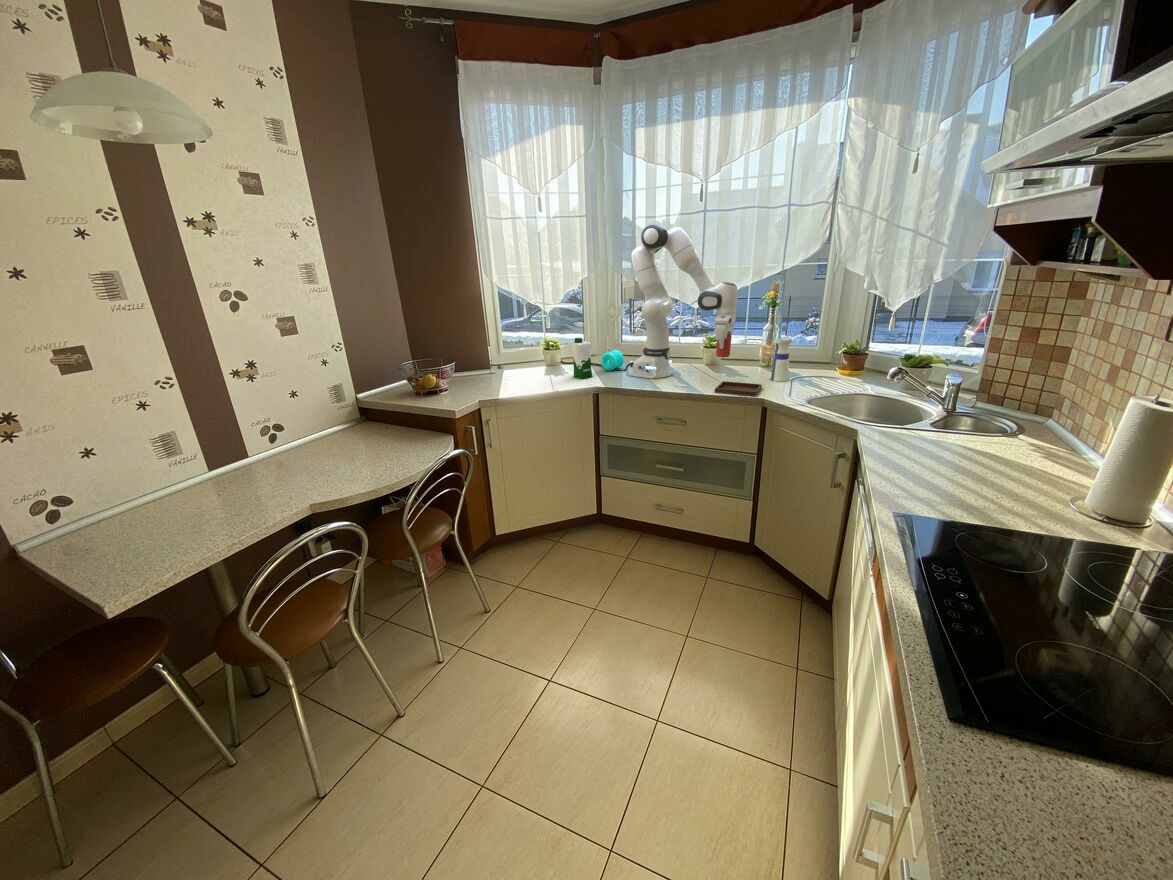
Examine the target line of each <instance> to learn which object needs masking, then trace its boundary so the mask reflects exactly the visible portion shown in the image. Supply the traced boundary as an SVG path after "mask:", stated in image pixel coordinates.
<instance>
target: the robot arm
mask: <svg viewBox="0 0 1173 880" xmlns="http://www.w3.org/2000/svg"><path fill="white" fill-rule="evenodd" d="M640 242H641V245H639V246H637V247H636V248H635V249H633V250H632V251H631V262H632V267H633V271H634V274H635V278H636V281H637V284H638V287H639V290H640V291H641V292H642V294H643V296H644V297H645V299H646V302H645V303H644V304H643V306H642V308H641V315H642V317H643V319H644V324H645V330H646V347H645V348H643V349H642V353H643V354H642V355H640V357H638V358H637V359H636V360H634V361H631V362H630V363H627V365H626V366H625V368H624V369H620V368H615V369H613V370H612V371H615V372H625V371H627V370H628V368H629V367H630V368H632V369H631V370H629V371H628V373H627V376H630V377H636V378H643V379H651V380H652V379H658V378H659V379H662V378H668V377H670V376H672V371H671V368H670V367H671V366H670V364H671V363H672V360H670V355H671V354H670V353H671V352H670V332H669V331H670V330H669V329H668V323H667V317H669V316H670V315H671V313H672V311H673V309H674V303H673V301H672V299H671V298H670V296H669V293H668V291H667V289H666V287H665V285H664V282H663V280H662V278H661V274H660V271H659V267H658V265H657V261H656V257H655V254H657V253H658V252H659V251H660V250H661V249H663V248H664V249H666V250H667V252H668V253H669V255H670V257H671V258H672V261H673V262H674V264H675V265H676V266H677V268H679V270H680V271H683V272H684V273H686V274H688V276H690V277H691V279H693V282H694V283H695V285H696V287H697V288H698V290H699V292H700V293H699V295H698V296H697V305H698V307H699V308H700V309H701V310H702V311H706V312H710V311H712V310H713V311H714V310H716V317H715V319H714V324H715V326H714V327H715V330H714V332H715V333H714V334H715V335H714V338H715V340H716V341H717V340H719V344H720V347H719V348H721V349H723V348H724V339H726V338H727V334H728V333H729V332H731V336H733V334H734V325H735V324H734V323H736V319H737V304H738V295H739V293H738V291H739V290H738V286H737V285H736V284H735V283H733V282H730V281H729V282H728V281H722V282H720V283H719V284H717V285H713V283H712V282H711V280H710V278H709V277H708V275H707V273H706V271H705V270H704V268H703V265H702V263H701V260H700V258H699V255H698V251H697V250H696V247H695V245H694V243H693V241H692V240H691V239H690V236H688V234H687V232H686V231H685V230H684V229H683V228H682V227H679V226H678V227H673V228H671V229H669V230H667V229H665V228H664V227H663V226H661V225H660V224H655V223H651V224H648V225H646V226H645V227H644V228H643V229H642V231H641V233H640ZM560 363H561V364H564V365H574V363H573V361H572V362H569V361H568V362H567V361H563V360H561V362H560ZM592 365H593V366H599V367H602V368H603V366H602V364H601V363H595V362H591V366H592Z"/></svg>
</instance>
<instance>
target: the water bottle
mask: <svg viewBox="0 0 1173 880" xmlns="http://www.w3.org/2000/svg"><path fill="white" fill-rule="evenodd" d="M787 329H788V327H787V326H786V325H783V327H780V330H781V333H783V332H785V333H787ZM791 344H793V339H792V338H791V337H783V338H782V339H778V338H776V337H775V338H774V340H773V342H772V345H775V349H774V351H773V352H774V356H773V357H774V358H773V359H772V360H773V361H772V368H771V375H770V380H771V381H773V382H787V381H789V369H790V359H789V358H790V353H791V350H790V345H791Z"/></svg>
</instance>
